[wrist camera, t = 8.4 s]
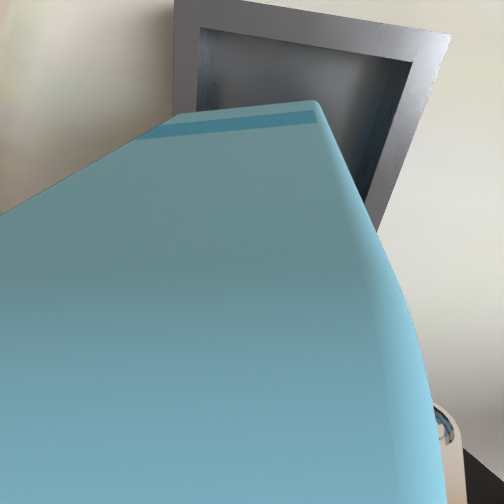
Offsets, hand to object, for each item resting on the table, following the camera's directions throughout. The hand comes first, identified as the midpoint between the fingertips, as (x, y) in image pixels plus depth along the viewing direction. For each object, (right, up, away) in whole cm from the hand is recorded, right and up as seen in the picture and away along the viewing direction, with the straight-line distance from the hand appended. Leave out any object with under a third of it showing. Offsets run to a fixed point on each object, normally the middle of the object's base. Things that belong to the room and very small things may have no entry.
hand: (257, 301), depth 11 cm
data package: (0, +2, +3) cm, 4 cm away
